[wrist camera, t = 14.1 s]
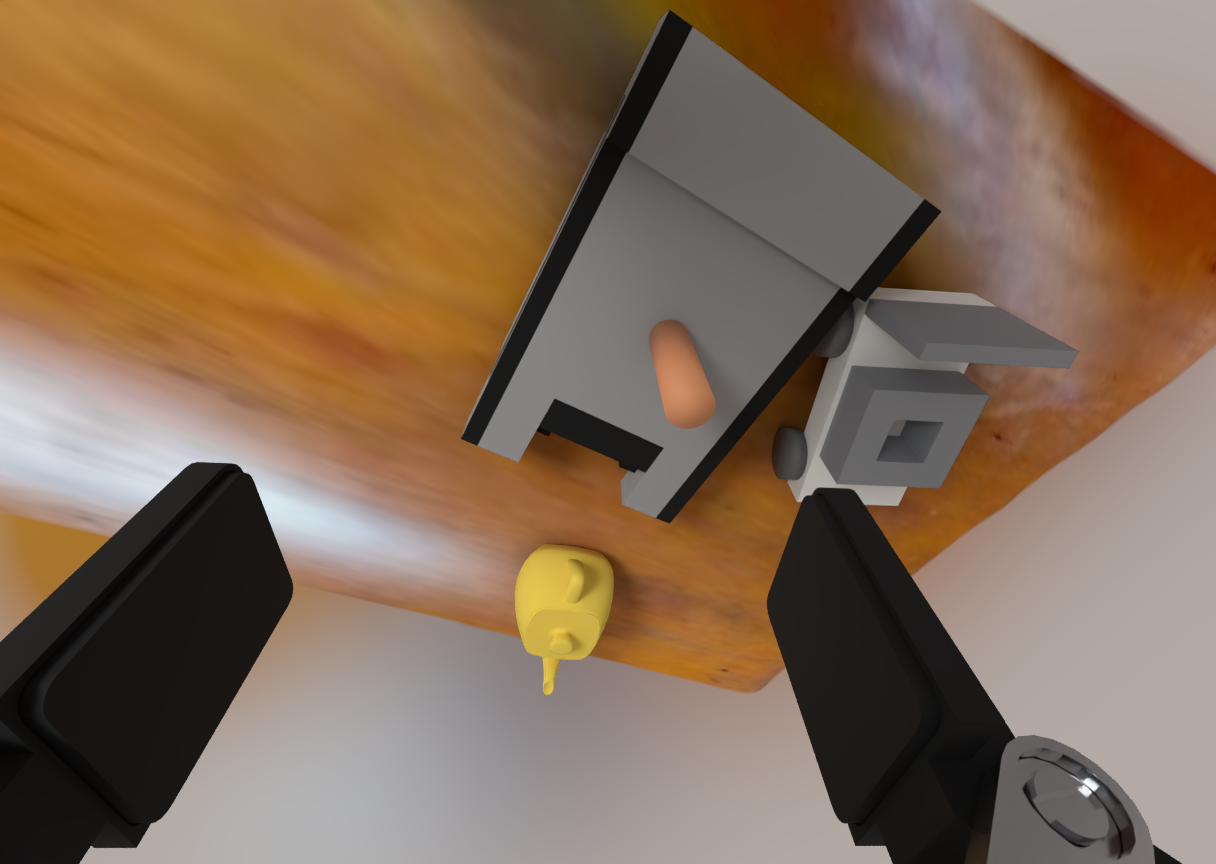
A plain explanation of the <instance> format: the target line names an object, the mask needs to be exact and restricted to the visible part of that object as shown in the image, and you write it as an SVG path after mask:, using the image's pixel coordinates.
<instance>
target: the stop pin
mask: <svg viewBox="0 0 1216 864" xmlns="http://www.w3.org/2000/svg"><path fill="white" fill-rule="evenodd" d="M649 344H650V349H651V353H652V358H653V362H654V367H655V371H656V376H657V380H658V385H659V389H660V394H661V398H662V403H663V407H664V412H665V415H666V418H667V419H668V421H669V422H670V423H671V424H673V425H674V426H676V427H679V428H683V429H691V428H696V427H699V426H701V425H703V424H705V423H706V422H707V421H708V420H709V419H710V418H711V417H712V415H713V413H714V411H715V406H716V404H715V399H714V396H713V393H712V391H711V388H710V386H709V383H708V381H707V378H706V375H705V373H704V370H703V368H702V365H701V363H700V360H699V358H698V355H697V353H696V350H695V348H694V345H693V342H692V340H691V337H690V335H689V332H688V330H687V328H686V327H685V326H684V325H683V324H682V323H681V322H679V321H676V320H665V321H662V322H660V323H658V324H657V325H656V326H655V327H654V328H653V329H652V331H651V333H650V335H649Z"/></svg>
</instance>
